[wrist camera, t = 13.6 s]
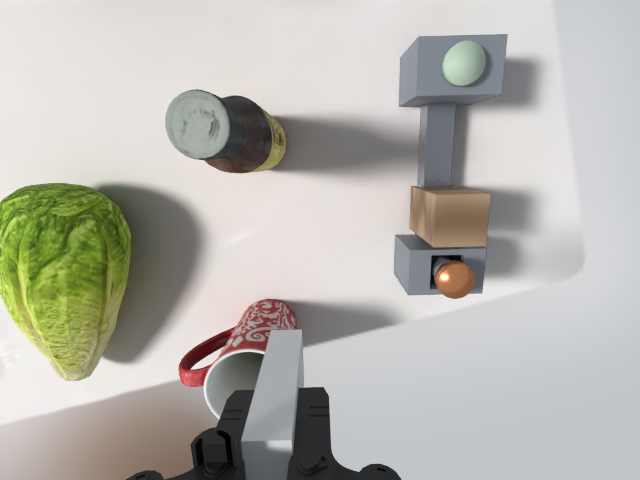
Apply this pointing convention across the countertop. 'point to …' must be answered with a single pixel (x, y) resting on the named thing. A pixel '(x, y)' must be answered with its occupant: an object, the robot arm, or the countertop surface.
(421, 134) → the rail
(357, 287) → the countertop surface
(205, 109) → the sauce bottle
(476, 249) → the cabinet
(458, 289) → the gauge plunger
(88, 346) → the lettuce
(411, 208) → the carriage
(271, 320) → the mug
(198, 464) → the robot arm
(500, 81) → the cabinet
